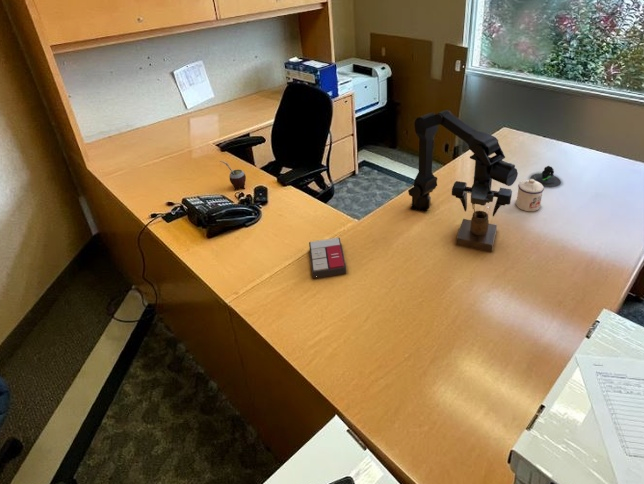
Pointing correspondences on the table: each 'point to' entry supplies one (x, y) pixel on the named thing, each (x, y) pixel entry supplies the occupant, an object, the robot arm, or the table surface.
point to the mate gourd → (237, 178)
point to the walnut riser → (476, 237)
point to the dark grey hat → (547, 178)
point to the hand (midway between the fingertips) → (479, 213)
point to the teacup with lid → (529, 195)
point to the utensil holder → (479, 222)
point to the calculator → (327, 258)
